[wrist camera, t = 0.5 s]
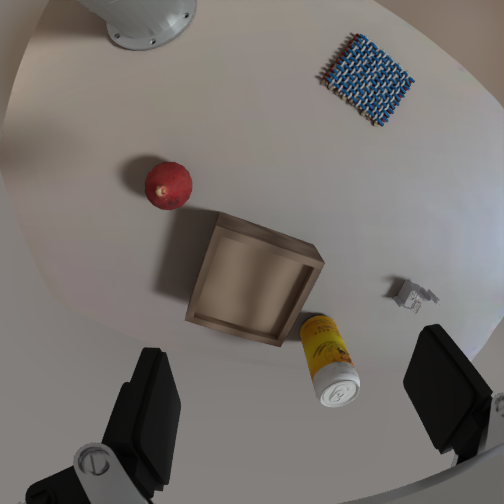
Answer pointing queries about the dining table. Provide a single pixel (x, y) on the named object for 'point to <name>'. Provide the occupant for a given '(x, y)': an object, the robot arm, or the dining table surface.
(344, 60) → the woven mat
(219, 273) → the walnut tray
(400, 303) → the architectural model
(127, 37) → the robot arm
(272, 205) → the dining table surface
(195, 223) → the dining table surface
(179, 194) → the pomegranate
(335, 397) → the beer can
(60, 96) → the dining table surface
